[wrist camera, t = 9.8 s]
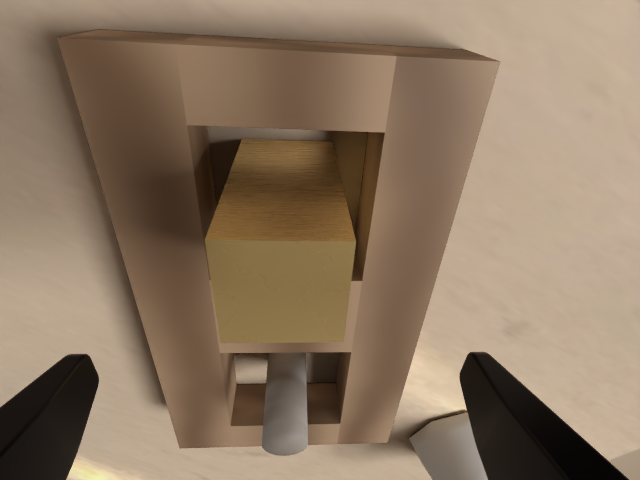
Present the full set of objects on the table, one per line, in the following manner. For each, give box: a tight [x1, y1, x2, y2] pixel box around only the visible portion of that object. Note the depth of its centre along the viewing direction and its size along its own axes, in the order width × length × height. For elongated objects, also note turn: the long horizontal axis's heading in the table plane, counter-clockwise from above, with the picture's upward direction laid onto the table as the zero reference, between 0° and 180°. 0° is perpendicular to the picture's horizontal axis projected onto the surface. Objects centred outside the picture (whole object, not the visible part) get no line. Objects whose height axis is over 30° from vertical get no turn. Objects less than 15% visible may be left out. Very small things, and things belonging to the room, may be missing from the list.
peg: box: [205, 139, 356, 343], centre depth 14 cm, size 4×4×8 cm
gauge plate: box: [57, 29, 500, 456], centre depth 18 cm, size 14×24×6 cm, turn 177°
